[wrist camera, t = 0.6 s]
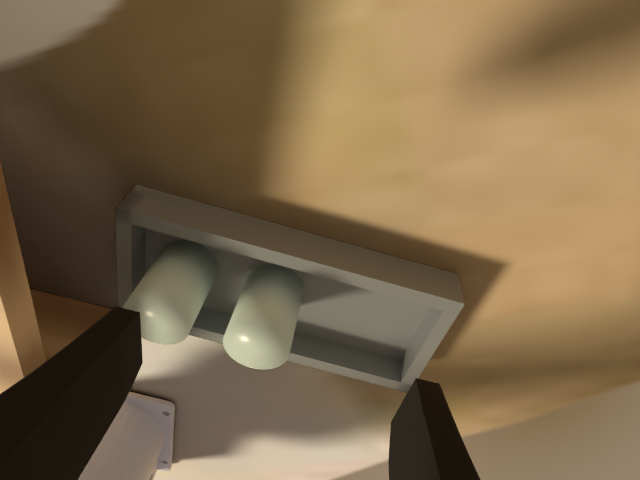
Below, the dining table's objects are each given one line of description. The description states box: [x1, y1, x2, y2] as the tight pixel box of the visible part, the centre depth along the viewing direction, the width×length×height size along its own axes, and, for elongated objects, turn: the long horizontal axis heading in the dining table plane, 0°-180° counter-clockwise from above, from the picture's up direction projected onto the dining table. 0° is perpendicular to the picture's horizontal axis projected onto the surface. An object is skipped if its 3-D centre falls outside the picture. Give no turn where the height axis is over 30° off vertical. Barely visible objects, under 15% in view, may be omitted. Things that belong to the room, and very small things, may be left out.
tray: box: [115, 185, 465, 393], centre depth 21 cm, size 7×16×5 cm, turn 76°
